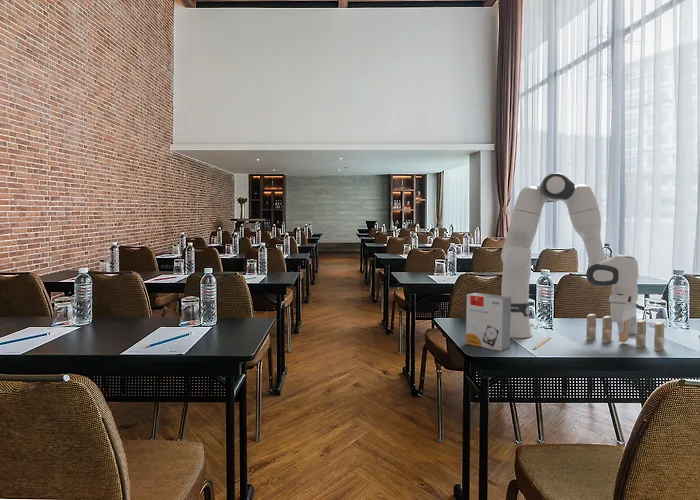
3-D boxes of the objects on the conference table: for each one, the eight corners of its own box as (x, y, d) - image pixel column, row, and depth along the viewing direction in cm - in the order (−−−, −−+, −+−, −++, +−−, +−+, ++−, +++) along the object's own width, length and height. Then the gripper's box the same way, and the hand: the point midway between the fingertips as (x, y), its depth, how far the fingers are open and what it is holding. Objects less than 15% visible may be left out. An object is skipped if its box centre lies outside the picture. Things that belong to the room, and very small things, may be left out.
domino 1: (586, 339, 194) (586, 315, 193) (590, 337, 197) (591, 313, 197) (591, 340, 192) (592, 316, 192) (595, 338, 196) (596, 314, 195)
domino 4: (635, 347, 181) (636, 321, 180) (639, 345, 184) (640, 319, 184) (641, 348, 179) (642, 322, 179) (645, 345, 183) (646, 320, 182)
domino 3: (618, 341, 185) (619, 316, 184) (622, 339, 188) (623, 314, 188) (624, 342, 184) (625, 317, 183) (628, 340, 187) (628, 315, 187)
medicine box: (636, 334, 202) (636, 314, 202) (625, 334, 203) (625, 314, 203) (629, 330, 210) (629, 311, 209) (618, 330, 211) (619, 311, 210)
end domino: (654, 350, 176) (654, 323, 176) (657, 347, 180) (658, 321, 179) (660, 351, 175) (661, 324, 175) (663, 348, 179) (664, 322, 178)
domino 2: (602, 341, 189) (602, 317, 189) (606, 339, 193) (606, 315, 192) (607, 342, 188) (608, 318, 187) (611, 340, 191) (612, 316, 191)
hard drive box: (464, 344, 186) (465, 294, 185) (474, 341, 191) (475, 292, 190) (501, 351, 175) (502, 298, 174) (510, 347, 180) (511, 296, 180)
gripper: (623, 292, 195) (622, 325, 195) (607, 297, 180) (606, 333, 181) (641, 294, 190) (640, 327, 191) (625, 299, 176) (624, 336, 177)
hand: (623, 330), depth 186 cm, fingers closed on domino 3, 5 cm apart
